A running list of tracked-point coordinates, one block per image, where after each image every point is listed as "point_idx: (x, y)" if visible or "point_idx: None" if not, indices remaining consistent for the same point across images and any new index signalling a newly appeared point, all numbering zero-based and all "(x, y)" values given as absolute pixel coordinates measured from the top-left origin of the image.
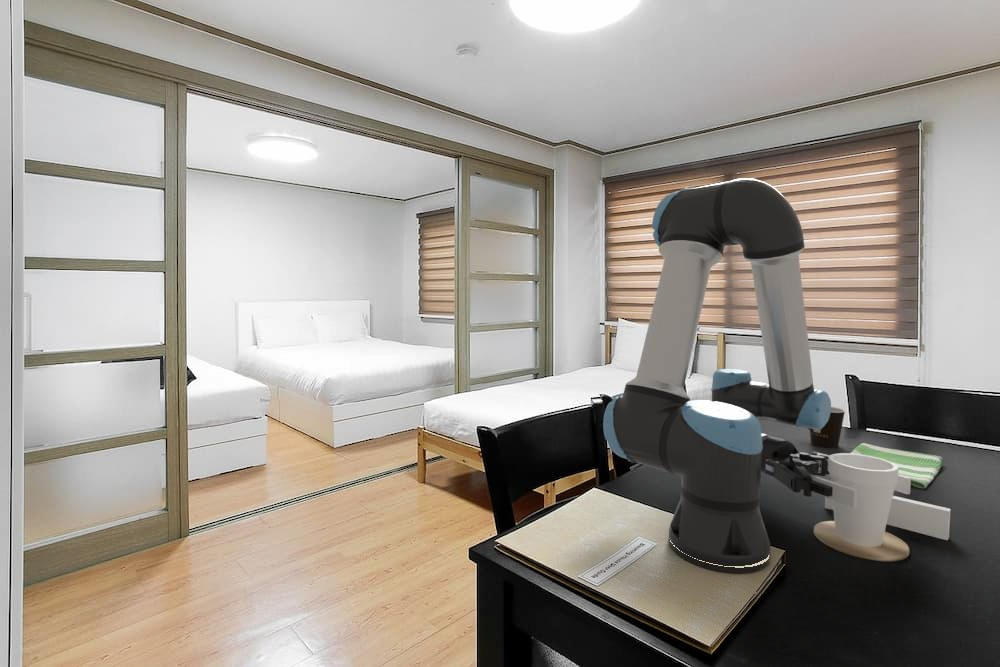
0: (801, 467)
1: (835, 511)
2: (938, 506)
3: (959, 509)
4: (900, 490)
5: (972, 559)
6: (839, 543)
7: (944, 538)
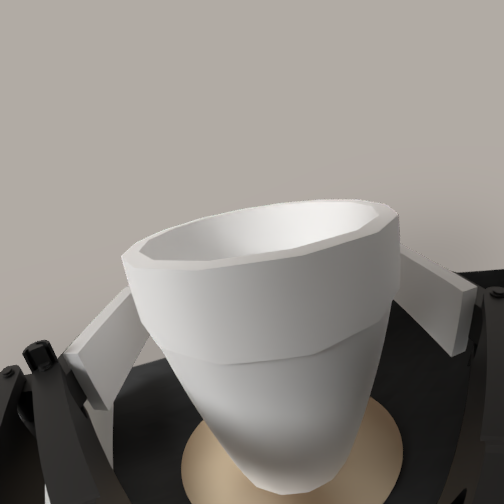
0: (501, 400)
1: (361, 419)
2: None
3: None
4: (146, 333)
5: (166, 369)
6: (374, 430)
7: (112, 405)
